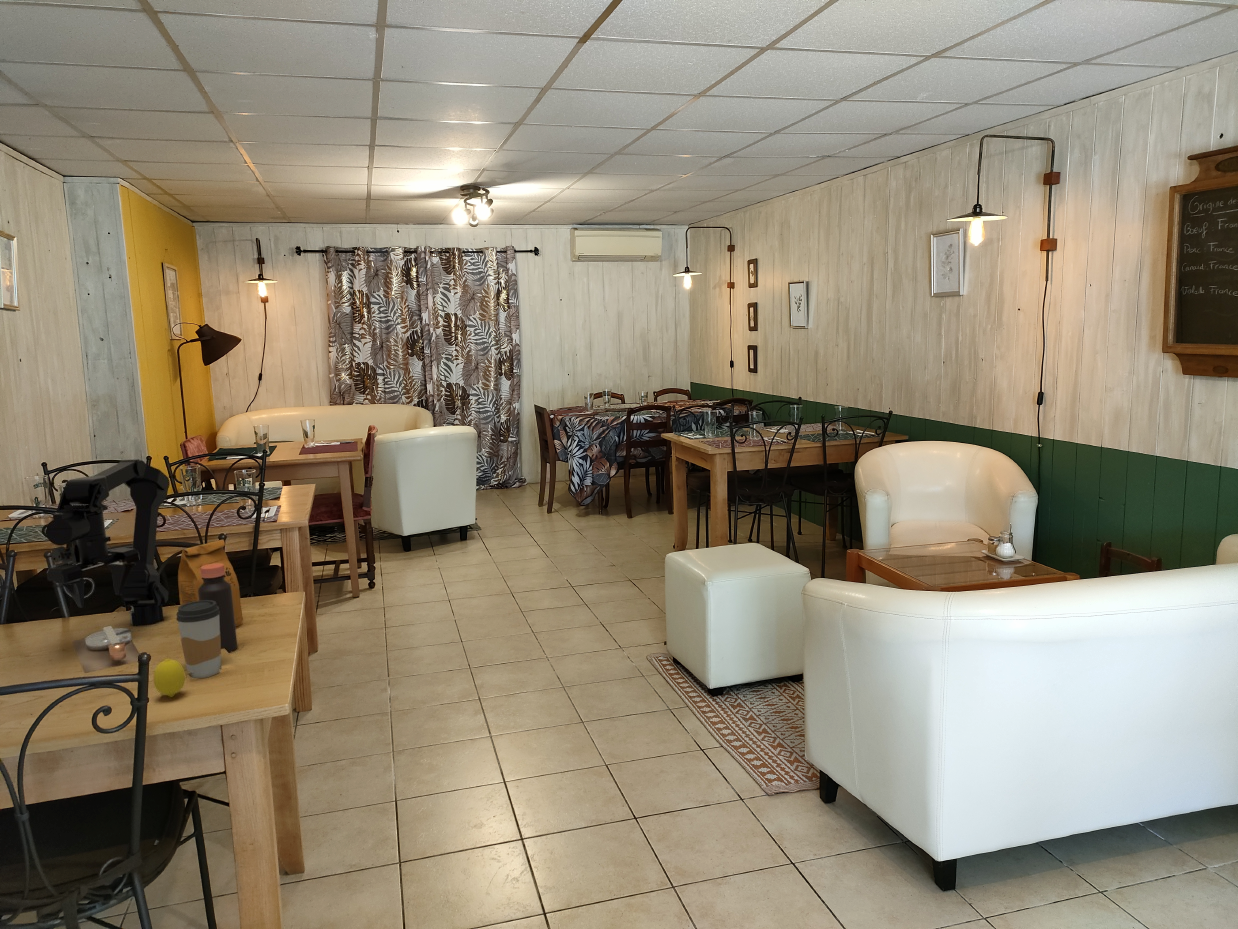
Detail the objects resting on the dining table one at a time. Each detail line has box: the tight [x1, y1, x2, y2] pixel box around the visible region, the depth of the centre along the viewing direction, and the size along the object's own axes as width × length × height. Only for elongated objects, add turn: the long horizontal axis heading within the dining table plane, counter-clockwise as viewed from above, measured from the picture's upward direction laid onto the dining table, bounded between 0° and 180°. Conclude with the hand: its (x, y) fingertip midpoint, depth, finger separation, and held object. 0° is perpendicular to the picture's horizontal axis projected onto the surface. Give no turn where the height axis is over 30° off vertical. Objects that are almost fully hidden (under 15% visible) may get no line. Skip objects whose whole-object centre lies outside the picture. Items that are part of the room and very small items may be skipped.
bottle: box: [198, 563, 238, 654], centre depth 193 cm, size 7×7×20 cm
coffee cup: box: [175, 600, 222, 679], centre depth 180 cm, size 8×8×15 cm
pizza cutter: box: [84, 625, 132, 661], centre depth 191 cm, size 9×22×4 cm, turn 38°
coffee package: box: [177, 539, 244, 628], centre depth 206 cm, size 10×12×22 cm
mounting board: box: [71, 638, 141, 674], centre depth 192 cm, size 11×25×2 cm, turn 38°
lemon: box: [153, 658, 186, 698], centre depth 169 cm, size 6×6×8 cm
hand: (99, 600), depth 192 cm, fingers open, 9 cm apart
